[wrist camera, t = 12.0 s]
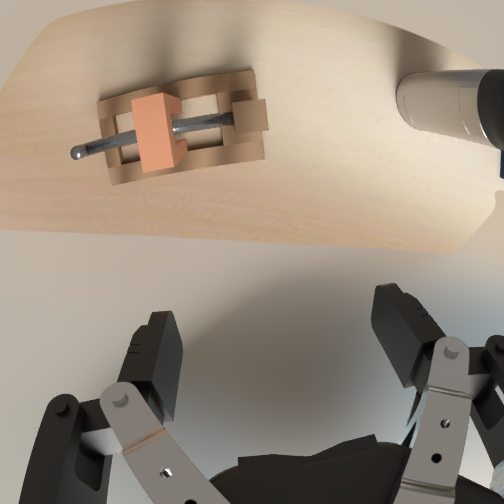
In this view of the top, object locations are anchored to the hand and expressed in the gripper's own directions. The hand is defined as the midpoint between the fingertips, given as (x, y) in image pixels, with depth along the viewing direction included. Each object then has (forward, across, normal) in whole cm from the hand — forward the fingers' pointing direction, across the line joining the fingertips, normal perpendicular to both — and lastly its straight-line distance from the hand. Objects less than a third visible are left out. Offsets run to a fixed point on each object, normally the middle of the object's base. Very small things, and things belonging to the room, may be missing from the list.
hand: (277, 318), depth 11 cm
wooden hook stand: (+31, +8, -7) cm, 33 cm away
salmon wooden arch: (+28, +8, -7) cm, 30 cm away
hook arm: (+22, +9, -7) cm, 25 cm away
